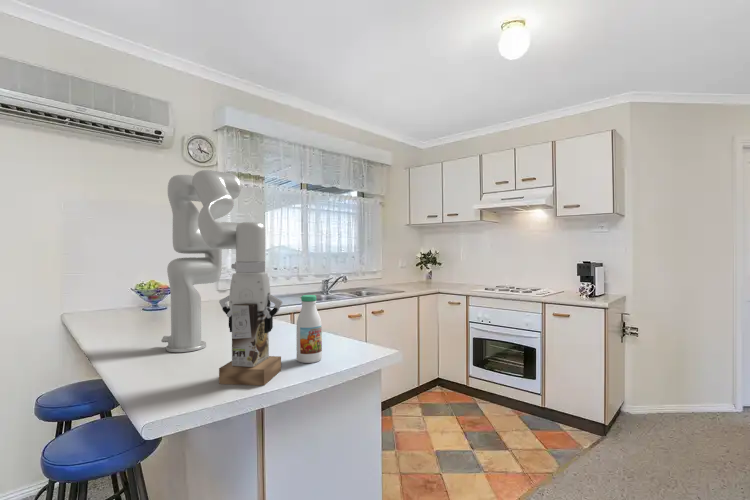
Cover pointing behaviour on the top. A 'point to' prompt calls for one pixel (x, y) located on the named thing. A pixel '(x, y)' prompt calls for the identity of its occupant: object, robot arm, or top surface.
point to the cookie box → (248, 336)
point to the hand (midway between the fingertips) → (250, 331)
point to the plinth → (250, 372)
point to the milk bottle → (309, 331)
